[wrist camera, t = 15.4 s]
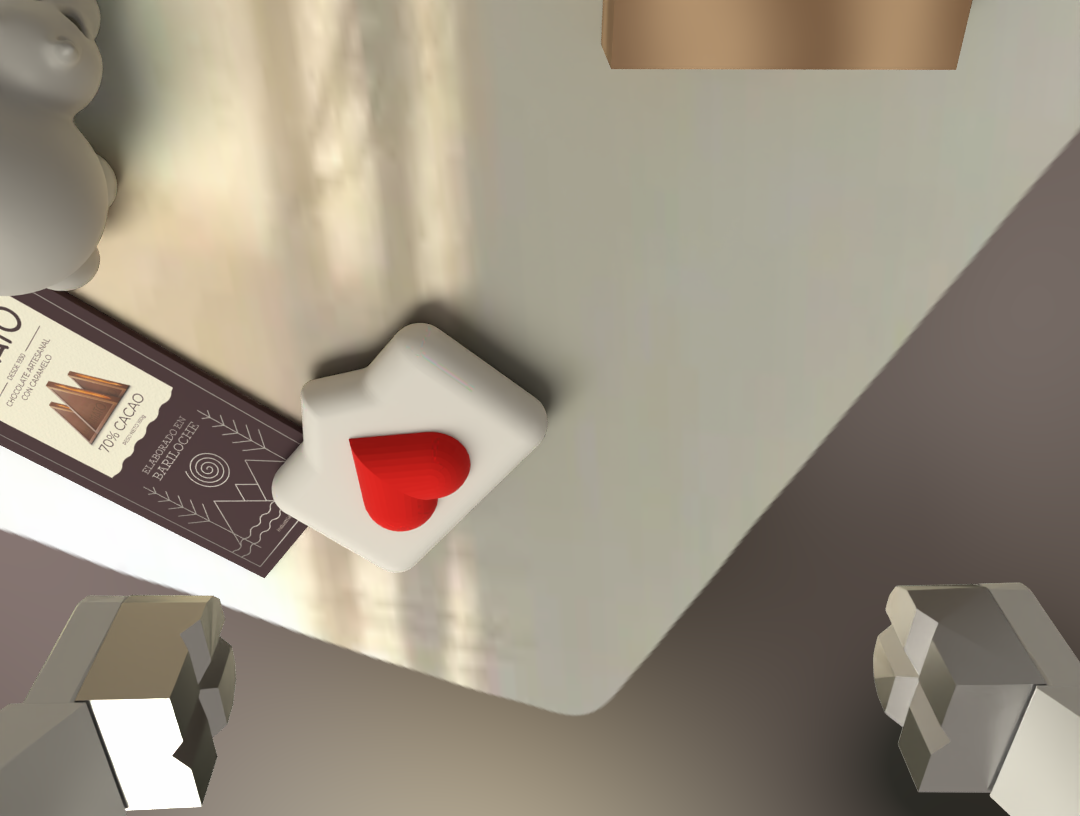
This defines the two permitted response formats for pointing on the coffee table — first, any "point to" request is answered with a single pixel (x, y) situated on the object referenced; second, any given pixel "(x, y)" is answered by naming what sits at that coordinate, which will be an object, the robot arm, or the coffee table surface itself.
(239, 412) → the chocolate bar
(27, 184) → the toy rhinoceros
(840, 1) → the block
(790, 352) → the coffee table surface
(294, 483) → the icon
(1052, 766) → the robot arm
